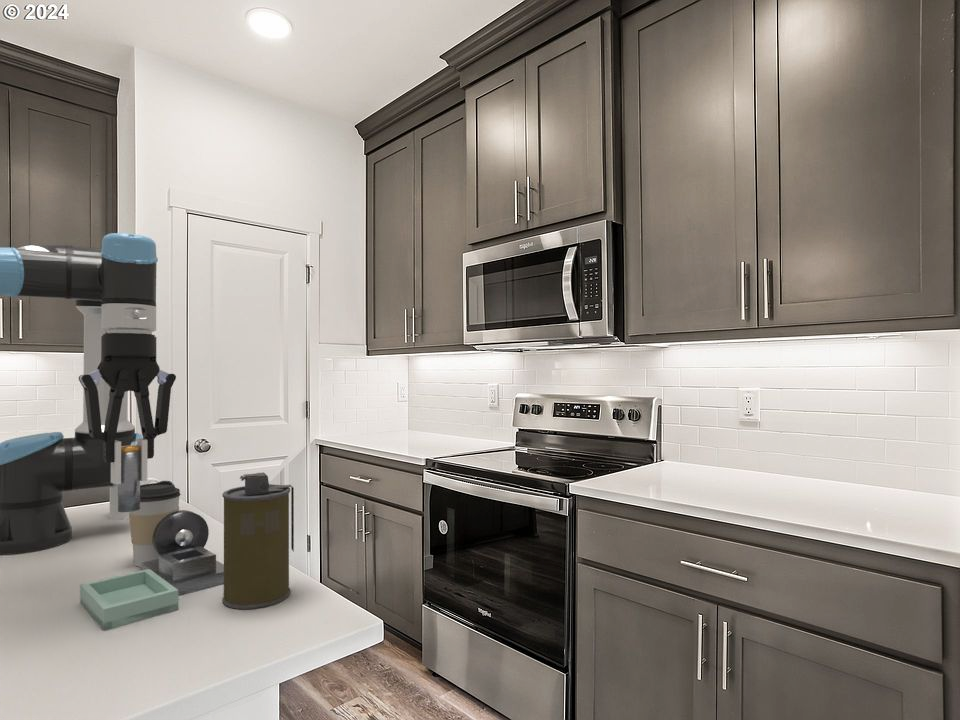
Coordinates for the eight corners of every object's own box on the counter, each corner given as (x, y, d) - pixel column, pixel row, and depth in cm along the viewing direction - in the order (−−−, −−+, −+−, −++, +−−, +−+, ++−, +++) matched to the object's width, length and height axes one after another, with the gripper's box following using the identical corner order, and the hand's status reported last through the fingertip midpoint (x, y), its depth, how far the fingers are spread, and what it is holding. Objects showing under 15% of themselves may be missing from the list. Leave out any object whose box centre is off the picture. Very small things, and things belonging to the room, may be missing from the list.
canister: (224, 614, 89) (224, 482, 89) (220, 591, 98) (220, 472, 98) (298, 601, 94) (298, 476, 94) (287, 580, 103) (287, 466, 103)
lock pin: (115, 510, 92) (115, 446, 92) (136, 506, 94) (136, 444, 95) (121, 513, 90) (121, 448, 90) (142, 509, 92) (142, 446, 92)
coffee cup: (157, 570, 109) (157, 489, 109) (115, 567, 110) (116, 487, 111) (190, 555, 117) (190, 480, 118) (151, 552, 119) (151, 478, 120)
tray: (80, 603, 93) (80, 584, 94) (149, 586, 101) (149, 568, 101) (103, 630, 84) (103, 609, 84) (178, 609, 91) (178, 590, 91)
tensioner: (141, 573, 107) (141, 513, 107) (198, 560, 114) (198, 504, 114) (171, 597, 96) (171, 529, 96) (232, 581, 103) (232, 518, 103)
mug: (157, 507, 158) (157, 469, 158) (167, 512, 152) (167, 472, 153) (106, 515, 150) (106, 475, 150) (114, 521, 144) (114, 479, 144)
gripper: (74, 329, 84) (73, 492, 84) (191, 333, 96) (191, 477, 95) (63, 332, 90) (62, 485, 89) (175, 335, 101) (175, 472, 101)
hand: (129, 481), depth 92 cm, fingers closed on lock pin, 3 cm apart
